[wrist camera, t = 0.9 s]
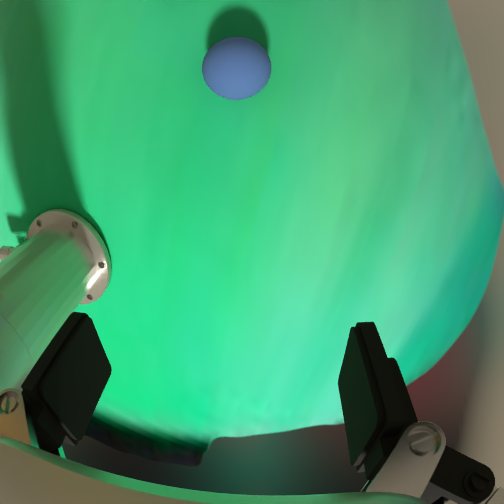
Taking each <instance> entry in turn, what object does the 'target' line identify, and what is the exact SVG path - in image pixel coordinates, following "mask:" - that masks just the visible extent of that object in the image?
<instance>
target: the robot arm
mask: <svg viewBox="0 0 504 504" xmlns="http://www.w3.org/2000/svg"><path fill="white" fill-rule="evenodd" d="M0 259H1V260H2V261H1V262H0V504H504V489H503V488H502V487H499V488H497V487H496V486H495V477H494V474H493V472H492V471H491V469H490V468H489V467H487V466H486V465H484V464H482V463H479V462H477V461H476V460H474V459H471V458H469V457H467V456H466V455H464V454H461V453H459V452H458V451H455V450H454V449H451V448H450V447H448V446H446V445H445V444H446V440H445V436H444V434H443V431H442V430H441V429H440V428H439V427H438V426H437V425H435V424H433V423H430V422H427V421H420V422H418V420H417V417H416V414H415V411H414V408H413V405H412V402H411V400H410V396H409V394H408V391H407V388H406V385H405V382H404V380H403V377H402V374H401V371H400V369H399V366H398V363H397V361H396V359H394V358H387V355H386V352H385V349H384V347H383V344H382V341H381V339H380V336H379V333H378V331H377V328H376V326H375V323H374V322H358V323H357V324H356V327H351V329H350V333H349V338H348V342H347V346H346V351H345V355H344V359H343V363H342V367H341V371H340V374H339V379H338V387H339V393H340V399H341V404H342V410H343V416H344V422H345V429H346V434H347V441H348V448H349V455H350V461H351V465H352V466H355V465H356V468H357V472H365V474H366V479H368V480H369V481H368V482H367V484H366V485H365V486H364V488H363V489H362V490H361V492H352V493H337V494H321V495H302V496H301V495H300V496H299V495H298V496H260V495H237V494H223V493H213V492H203V491H196V490H188V489H182V488H175V487H170V486H164V485H159V484H154V483H149V482H144V481H140V480H135V479H131V478H127V477H123V476H118V475H115V474H112V473H108V472H104V471H101V470H98V469H95V468H91V467H88V466H85V465H82V464H79V463H76V462H73V461H70V460H67V459H66V458H65V455H64V452H63V449H62V443H63V441H64V442H65V443H67V444H70V445H73V446H76V445H77V442H78V441H79V440H81V439H82V437H83V435H84V433H85V431H86V428H87V426H88V424H89V421H90V419H91V417H92V414H93V412H94V410H95V408H96V405H97V403H98V401H99V399H100V397H101V394H102V392H103V390H104V388H105V386H106V384H107V381H108V379H109V377H110V375H111V365H110V363H109V360H108V358H107V356H106V353H105V351H104V349H103V346H102V344H101V341H100V339H99V337H98V334H97V331H96V329H95V326H94V324H93V321H92V319H91V318H89V316H88V315H87V314H86V313H79V312H74V311H75V309H76V308H77V307H78V305H79V304H89V303H92V302H94V301H96V300H97V299H98V298H100V297H101V296H102V294H103V293H104V292H105V290H106V289H107V287H108V285H109V282H110V279H111V261H110V257H109V253H108V250H107V248H106V246H105V244H104V241H103V240H102V238H101V237H100V235H99V234H98V232H97V231H96V230H95V229H94V228H93V226H92V225H91V224H90V223H89V222H87V221H86V220H85V219H84V218H83V217H81V216H79V215H78V214H76V213H74V212H71V211H68V210H65V209H51V210H48V211H46V212H44V213H42V214H41V215H39V216H38V217H37V218H36V219H35V220H34V221H33V222H32V224H31V225H30V227H29V230H28V233H27V240H26V242H24V243H23V244H22V245H18V246H16V247H11V246H2V247H1V248H0ZM22 389H23V391H22V393H21V390H22Z"/></svg>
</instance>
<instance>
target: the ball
mask: <svg viewBox="0 0 504 504" xmlns="http://www.w3.org/2000/svg"><path fill="white" fill-rule="evenodd" d="M202 73H203V77H204V80H205V82H206V84H207V85H208V87H209V88H210V89H211V90H212V91H213V92H214V93H216V94H217V95H219V96H221V97H224V98H227V99H232V100H240V99H246V98H249V97H251V96H253V95H255V94H257V93H258V92H260V91H261V90H262V89H263V88H264V86H265V85H266V84H267V82H268V80H269V78H270V74H271V61H270V58H269V56H268V53H267V52H266V50H265V49H264V48H263V47H262V46H261V45H260V44H259V43H257V42H256V41H254V40H252V39H249V38H246V37H239V36H236V37H228V38H225V39H222V40H220V41H218V42H217V43H215V44H214V45H213V46H212V47H211V48H210V49H209V50H208V52H207V53H206V55H205V57H204V60H203V64H202Z"/></svg>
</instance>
